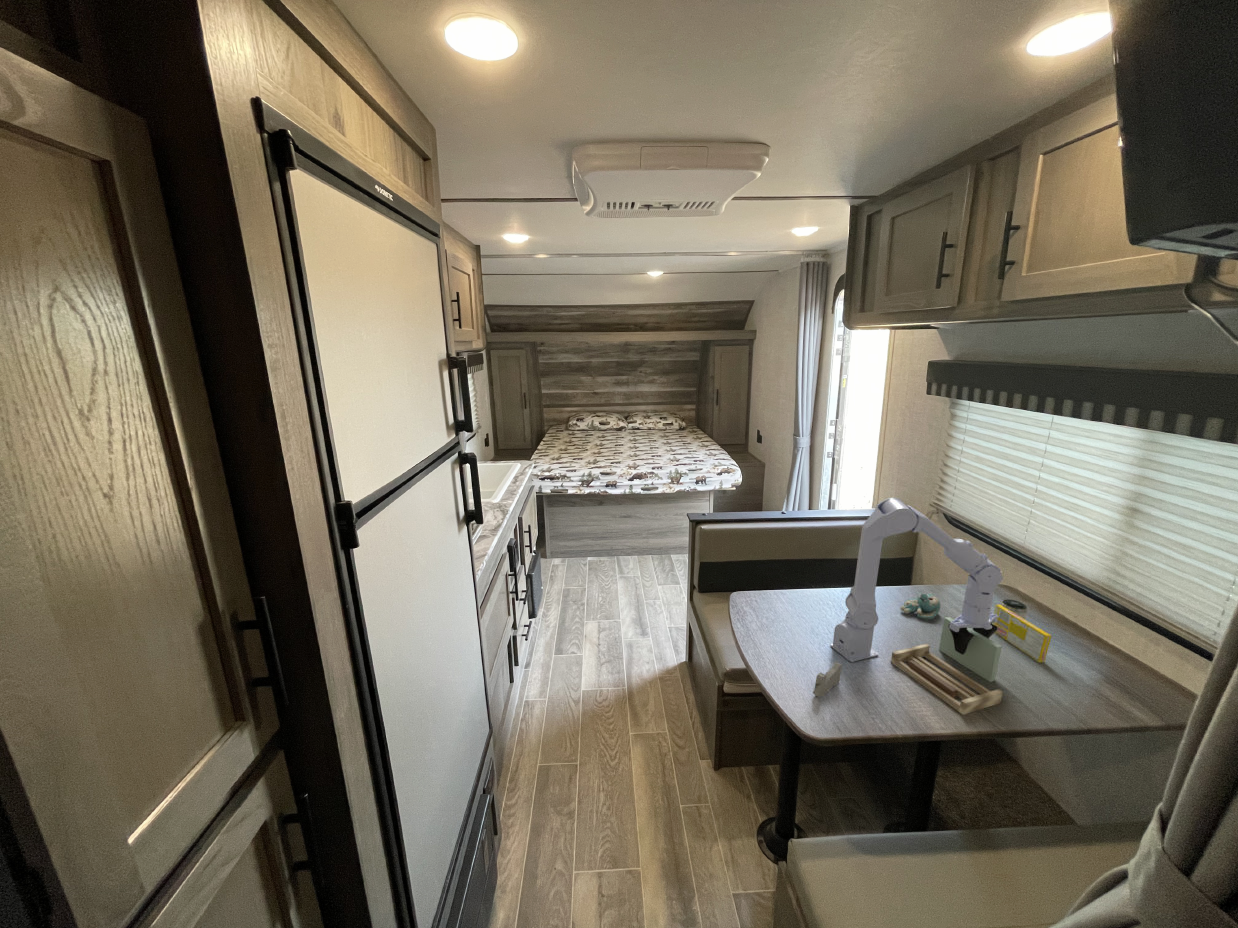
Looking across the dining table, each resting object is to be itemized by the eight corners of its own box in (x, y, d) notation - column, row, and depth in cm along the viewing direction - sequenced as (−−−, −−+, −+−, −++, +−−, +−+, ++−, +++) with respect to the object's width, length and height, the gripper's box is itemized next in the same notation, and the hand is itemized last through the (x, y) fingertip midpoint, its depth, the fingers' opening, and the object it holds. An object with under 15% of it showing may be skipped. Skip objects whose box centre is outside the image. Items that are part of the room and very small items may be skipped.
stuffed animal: (890, 590, 156) (925, 581, 157) (891, 609, 158) (926, 600, 159) (914, 607, 146) (951, 598, 147) (915, 628, 148) (951, 618, 148)
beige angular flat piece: (839, 684, 121) (816, 700, 115) (834, 681, 122) (811, 697, 116) (841, 664, 120) (819, 679, 114) (836, 661, 121) (813, 676, 115)
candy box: (1046, 662, 129) (1052, 635, 127) (1038, 663, 129) (1045, 635, 127) (995, 628, 144) (1000, 603, 142) (988, 628, 144) (993, 603, 142)
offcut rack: (963, 714, 111) (965, 703, 110) (890, 661, 129) (892, 652, 128) (1000, 702, 114) (1002, 691, 113) (924, 653, 133) (926, 643, 132)
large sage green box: (990, 682, 121) (997, 647, 119) (938, 649, 134) (944, 617, 132) (994, 680, 122) (1001, 645, 119) (943, 648, 135) (948, 616, 132)
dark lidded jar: (1027, 633, 142) (1033, 609, 140) (1002, 630, 143) (1007, 606, 141) (1016, 622, 147) (1021, 598, 146) (992, 619, 149) (997, 596, 147)
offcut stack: (951, 701, 115) (952, 691, 114) (907, 670, 126) (909, 660, 125) (958, 699, 116) (960, 688, 115) (914, 668, 127) (916, 658, 126)
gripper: (972, 616, 118) (962, 664, 121) (1013, 606, 122) (1003, 653, 125) (945, 602, 124) (937, 648, 128) (985, 593, 129) (977, 638, 132)
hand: (968, 649), depth 127 cm, fingers open, 6 cm apart
